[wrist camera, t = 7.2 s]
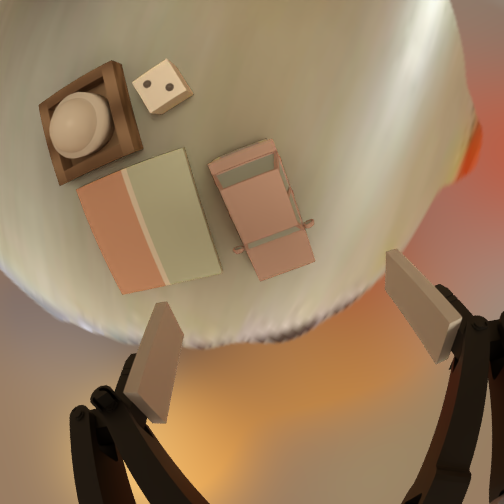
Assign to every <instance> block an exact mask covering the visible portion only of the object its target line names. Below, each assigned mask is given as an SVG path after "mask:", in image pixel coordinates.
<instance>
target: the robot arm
mask: <svg viewBox="0 0 504 504" xmlns="http://www.w3.org/2000/svg"><path fill="white" fill-rule="evenodd" d="M385 290H386V292H387V293H388V294H389V296H390V297H391V298H392V300H393V301H394V303H395V304H396V305H397V306H398V308H399V310H400V311H401V312H402V314H403V315H404V317H405V318H406V320H407V321H408V322H409V324H410V325H411V327H412V328H413V330H414V331H415V333H416V334H417V336H418V337H419V339H420V340H421V342H422V343H423V345H424V346H425V348H426V350H427V351H428V353H429V354H430V356H431V357H432V359H433V360H434V362H435V364H438V363H440V362H442V361H444V360H446V359H448V357H449V355H450V352H451V351H452V352H453V354H454V358H453V361H452V363H451V365H450V368H449V370H450V369H451V373H450V378H449V382H448V387H447V391H446V395H445V400H444V403H443V407H442V410H441V414H440V417H439V420H438V424H437V427H436V430H435V434H434V436H433V439H432V441H431V444H430V447H429V450H428V452H427V455H426V457H425V460H424V462H423V465H422V467H421V469H420V472H419V474H418V476H417V478H416V480H415V482H414V484H413V485H412V487H411V488H410V490H409V491H408V493H407V494H406V496H405V498H404V500H403V501H402V503H401V504H462V502H463V499H464V497H465V494H466V492H467V489H468V486H469V484H470V480H471V473H470V471H469V468H470V465H471V461H472V458H473V455H474V451H475V447H476V444H477V440H478V435H479V431H480V427H481V422H482V417H483V411H484V405H485V399H486V391H487V383H488V381H489V389H490V399H491V411H492V461H491V474H490V485H489V504H504V311H503V313H501V316H500V319H498V320H493V321H487V320H486V319H485V318H484V317H482V316H473V315H472V314H471V313H470V312H469V310H468V309H467V308H466V307H465V306H464V305H463V304H462V303H461V302H460V301H459V300H458V299H457V297H456V296H455V295H453V293H452V292H451V291H450V290H449V289H448V288H446V287H444V286H443V285H441V284H438V285H436V286H434V285H433V284H432V283H431V282H430V281H429V280H428V279H427V278H426V277H425V276H424V275H423V274H422V273H421V272H420V271H419V270H418V269H417V268H416V267H415V266H414V265H413V264H412V263H411V262H410V261H409V260H408V259H407V258H406V257H405V256H404V255H403V254H402V253H401V252H400V251H399V250H398V249H394V250H390V251H386V277H385ZM183 337H184V334H183V332H182V330H181V328H180V326H179V324H178V322H177V320H176V318H175V316H174V314H173V312H172V310H171V308H170V306H169V304H168V302H162V303H156V305H155V307H154V310H153V312H152V315H151V317H150V320H149V322H148V325H147V327H146V330H145V333H144V335H143V338H142V341H141V343H140V346H139V349H138V351H137V353H135V354H131V355H130V356H129V357H128V359H127V360H126V362H125V364H124V367H123V370H122V372H121V376H120V378H119V381H118V383H117V386H116V389H115V392H114V391H113V390H112V389H111V387H109V386H107V385H105V386H100V387H98V388H97V389H96V390H95V391H94V392H93V393H92V395H91V398H90V400H91V403H92V404H93V405H94V406H95V407H96V409H93V410H89V409H88V408H87V407H86V406H84V405H79V406H77V407H75V408H74V409H73V410H72V412H71V414H70V440H71V453H72V463H73V471H74V479H75V485H76V491H77V497H78V502H79V504H136V502H135V499H134V496H133V493H132V490H131V487H130V484H129V480H128V477H127V473H126V469H125V466H124V462H125V463H126V465H127V467H128V469H129V471H130V472H131V474H132V476H133V478H134V479H135V481H136V482H137V484H138V486H139V487H140V489H141V490H142V492H143V493H144V495H145V497H146V498H147V500H148V501H149V502H150V504H209V503H208V502H207V500H206V499H205V498H204V497H203V496H202V495H201V494H200V493H199V492H198V491H197V489H196V488H195V487H194V486H193V485H192V484H191V483H190V482H189V480H188V479H187V478H186V477H185V475H184V474H183V473H182V472H181V470H180V469H179V468H178V467H177V465H176V464H175V463H174V462H173V460H172V459H171V458H170V456H169V455H168V454H167V452H166V451H165V450H164V448H163V447H162V445H161V444H160V443H159V441H158V440H157V438H156V437H155V435H154V434H153V432H152V431H151V429H150V428H149V426H148V425H146V420H147V418H148V419H149V420H150V421H151V422H152V423H166V421H167V416H168V411H169V405H170V400H171V394H172V389H173V384H174V379H175V375H176V369H177V365H178V360H179V356H180V351H181V346H182V342H183ZM123 460H124V462H123Z"/></svg>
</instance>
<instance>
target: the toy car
mask: <svg viewBox="0 0 504 504" xmlns="http://www.w3.org/2000/svg"><path fill="white" fill-rule="evenodd" d="M208 167H209V169H210V172H211V174H212V176H213V178H214V180H215V181H214V182H215V185H216V186H217V187H218V189H219V192H220V194H221V196H222V198H223V200H224V203H225V205H226V207H227V209H228V212H229V216H230V218H231V219H232V220H233V223H234V225H235V227H236V229H237V232H238V234H239V236H240V238H241V240H242V243H243V245H244V246H237V247H235V248H234V249H233V251H234V253H236V254H240V253H242V252H243V251H244V250H246V251H247V254H248V256H249V258H250V260H251V263H252V265H253V267H254V269H255V271H256V274H257V276H258V278H259V280H260V281H263V280H265V279H269V278H271V277H274V276H277V275H280V274H282V273H285V272H288V271H291V270H293V269H296V268H299V267H302V266H304V265H308V264H310V263H312V262H315V259H314V255H313V252H312V249H311V246H310V243H309V240H308V237H307V234H306V230H305V228H310V227H312V226H313V225H314V220H313V219H310V220H307V221H306V222H304V224H303V221H302V218H301V216H300V213H299V210H298V207H297V204H296V201H295V198H294V193H293V190H291V187H290V184H289V181H288V179H287V176H286V173H285V170H284V168H283V165H282V160H281V158H280V156H279V154H278V152H277V149H276V147H275V144H274V142H273V139H269V140H268V139H263V140H260V141H258V142H255V143H252V144H250V145H247V146H245V147H242V148H240V149H237V150H235V151H232V152H230V153H227V154H225V155H222V156H220V157H218V158H215V159H214V160H213V162H211V163H209V164H208ZM244 247H245V248H244Z"/></svg>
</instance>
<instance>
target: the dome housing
mask: <svg viewBox="0 0 504 504" xmlns="http://www.w3.org/2000/svg"><path fill="white" fill-rule="evenodd" d="M76 92H86V93H95V94H100V95H102V96H104V97H106V98H107V99H108V101H109V105H110V109H111V113H112V117H113V121H114V130H113V133H112V135H111V137H110V139H109V141H108V142H107V143H106V145H105V146H104V147H103V148H102V149H100V150H99V151H97V152H95V153H92V154H89V155H85V156H82V157H79V158H66V157H64V156H62V155H61V154H60V153H58V152H57V150H56V149H55V147H54V146H53V143H52V140H51V137H50V133H49V127H50V121H51V118H52V116H53V113H54V111H55V109H56V107H57V106H58V105H59V103H60V102H61V101H62V100H63V99H64V98H66V97H67V96H69V95H70V94H73V93H76ZM39 110H40V115H41V120H42V125H43V129H44V133H45V137H46V141H47V145H48V149H49V153H50V156H51V160H52V163H53V166H54V170H55V173H56V176H57V179H58V182H59V185H60V186H61V185H63V184H65V183H67V182H69V181H71V180H73V179H75V178H77V177H79V176H81V175H84V174H86V173H88V172H90V171H92V170H94V169H96V168H98V167H101V166H103V165H105V164H107V163H110V162H112V161H114V160H117V159H119V158H121V157H124V156H126V155H129V154H131V153H134V152H136V151H139V150H141V149H143V145H142V142H141V139H140V135H139V132H138V128H137V124H136V121H135V117H134V113H133V110H132V106H131V102H130V98H129V94H128V90H127V86H126V81H125V77H124V73H123V68H122V64H120V63H117V62H115V61H112V60H111V61H109V62H107V63H105V64H103V65H101V66H99V67H98V68H96V69H94V70H92V71H90V72H89V73H87V74H85V75H83V76H82V77H80V78H78V79H77V80H75V81H73V82H72V83H70V84H69V85H67V86H66V87H64V88H62V89H61V90H59V91H58V92H56V93H55V94H54V95H52V96H51V97H49V98H48V99H46V100H45V101H44V102H42V103H41V104H40V105H39Z"/></svg>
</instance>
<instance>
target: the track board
mask: <svg viewBox="0 0 504 504" xmlns="http://www.w3.org/2000/svg"><path fill="white" fill-rule="evenodd" d="M76 191H77V194H78V196H79V199H80V202H81V204H82V207H83V210H84V212H85V215H86V217H87V220H88V222H89V225H90V227H91V230H92V232H93V234H94V237H95V239H96V241H97V244H98V246H99V248H100V250H101V252H102V255H103V257H104V259H105V261H106V263H107V265H108V267H109V269H110V271H111V273H112V275H113V277H114V279H115V281H116V283H117V285H118V287H119V289H120V291H121V293H122V295H123V294H128V293H133V292H138V291H143V290H147V289H152V288H157V287H162V286H166V285H171V284H176V283H180V282H185V281H190V280H194V279H199V278H204V277H208V276H213V275H217V274H222V271H223V269H222V266H221V263H220V260H219V257H218V254H217V251H216V248H215V245H214V242H213V239H212V236H211V233H210V229H209V226H208V223H207V220H206V217H205V214H204V210H203V207H202V204H201V201H200V198H199V194H198V191H197V188H196V184H195V181H194V178H193V174H192V171H191V168H190V164H189V161H188V157H187V154H186V150H185V147H184V148H180V149H177V150H174V151H171V152H168V153H165V154H162V155H159V156H156V157H154V158H151V159H148V160H145V161H143V162H140V163H137V164H135V165H132V166H129V167H127V168H124V169H122V170H119V171H117V172H115V173H112V174H110V175H107V176H105V177H103V178H100V179H98V180H96V181H94V182H91V183H89V184H87V185H85V186H83V187H81V188H79V189H77V190H76Z"/></svg>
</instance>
